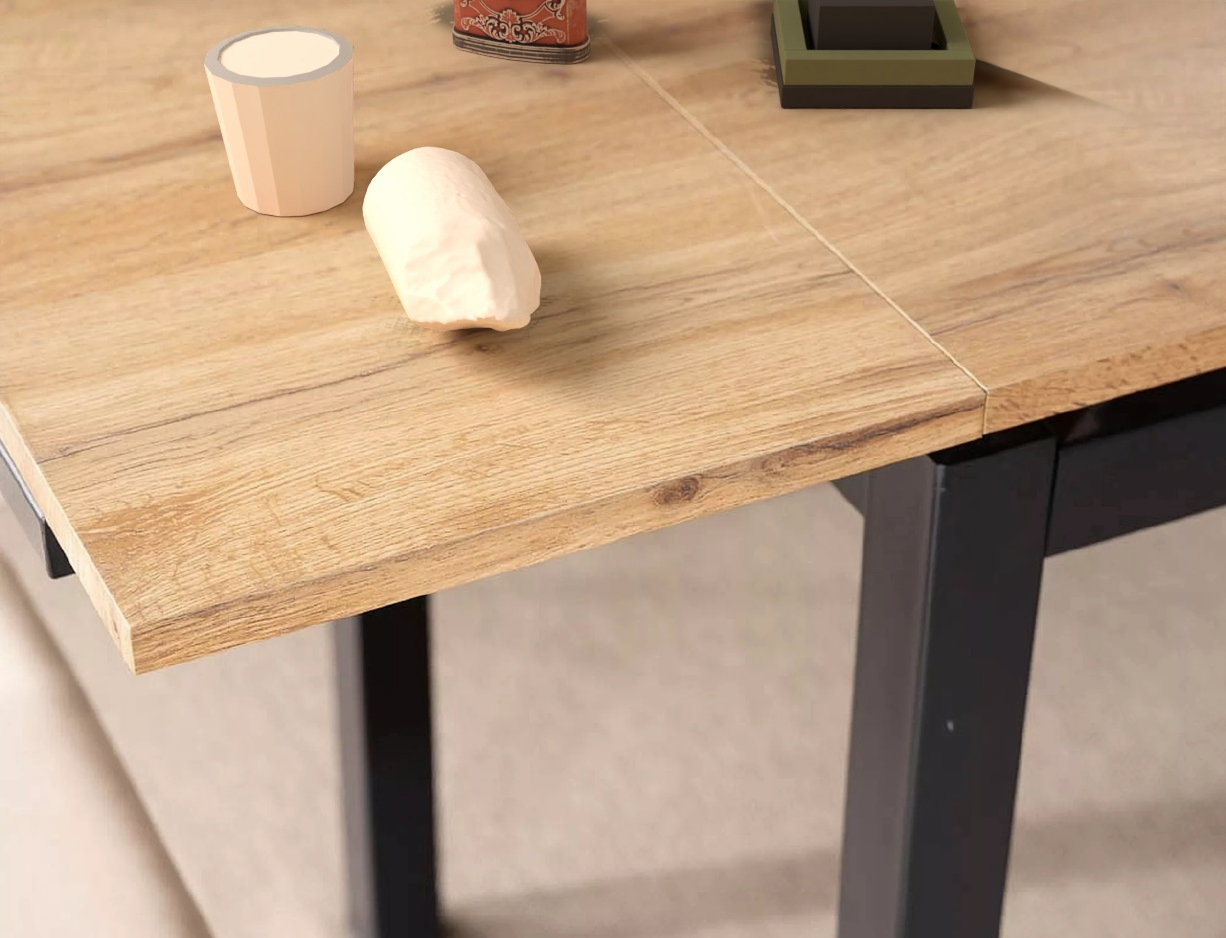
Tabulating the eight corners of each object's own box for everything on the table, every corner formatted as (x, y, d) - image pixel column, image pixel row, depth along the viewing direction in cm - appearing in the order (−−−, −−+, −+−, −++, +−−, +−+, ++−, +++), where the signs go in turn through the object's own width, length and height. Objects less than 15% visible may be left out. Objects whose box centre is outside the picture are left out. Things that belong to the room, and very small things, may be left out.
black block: (914, 26, 97) (921, -37, 95) (928, 71, 92) (935, 5, 90) (806, 26, 97) (810, -37, 95) (815, 71, 92) (819, 5, 90)
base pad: (946, 32, 99) (951, -14, 98) (972, 108, 91) (978, 59, 90) (770, 32, 99) (772, -14, 98) (780, 108, 91) (783, 59, 90)
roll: (429, 408, 69) (418, 287, 66) (366, 265, 79) (354, 151, 75) (573, 381, 71) (570, 261, 68) (495, 243, 80) (489, 131, 77)
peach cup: (231, 231, 81) (210, 91, 77) (218, 166, 86) (197, 31, 82) (378, 211, 83) (364, 73, 78) (356, 148, 88) (342, 15, 84)
